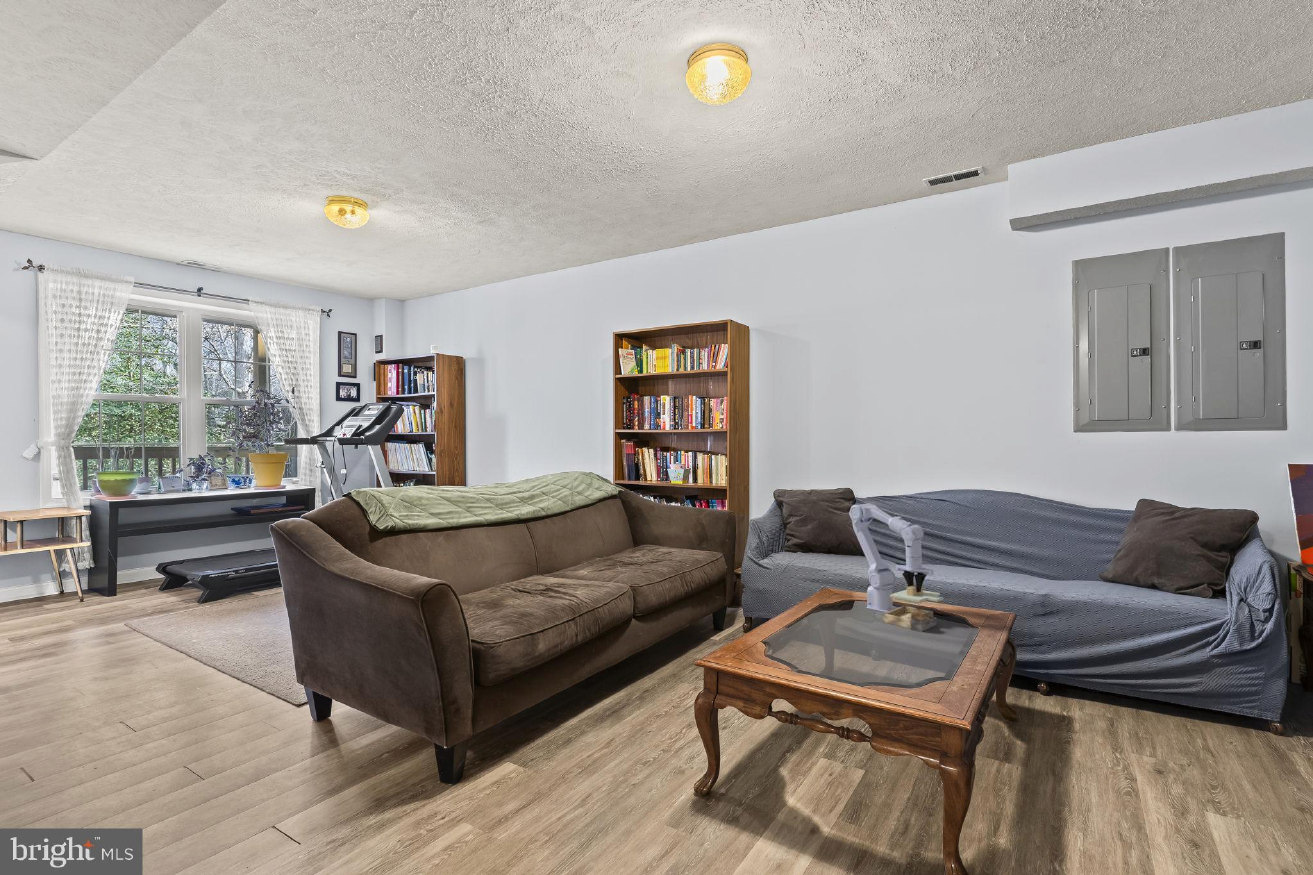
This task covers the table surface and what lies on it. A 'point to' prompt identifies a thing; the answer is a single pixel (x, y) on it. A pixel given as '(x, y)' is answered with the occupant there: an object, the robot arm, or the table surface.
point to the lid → (916, 595)
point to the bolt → (919, 615)
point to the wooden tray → (909, 618)
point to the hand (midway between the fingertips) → (915, 591)
